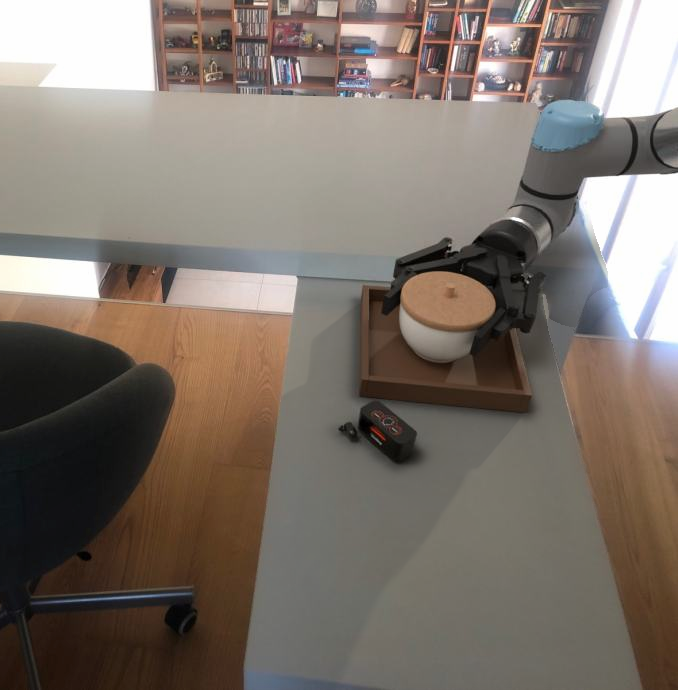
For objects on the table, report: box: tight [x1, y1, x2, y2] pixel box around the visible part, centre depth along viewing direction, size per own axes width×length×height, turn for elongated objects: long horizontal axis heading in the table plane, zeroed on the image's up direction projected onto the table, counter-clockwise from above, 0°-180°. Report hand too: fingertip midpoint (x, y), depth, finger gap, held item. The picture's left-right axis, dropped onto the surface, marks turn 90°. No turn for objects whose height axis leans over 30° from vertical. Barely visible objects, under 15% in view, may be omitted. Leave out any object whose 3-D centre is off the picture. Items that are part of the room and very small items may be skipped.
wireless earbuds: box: [337, 399, 418, 463], centre depth 74 cm, size 5×7×3 cm, turn 35°
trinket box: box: [399, 271, 496, 363], centre depth 83 cm, size 11×11×9 cm
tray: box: [358, 284, 533, 414], centre depth 86 cm, size 19×19×3 cm
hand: (428, 325), depth 80 cm, fingers closed on trinket box, 11 cm apart
